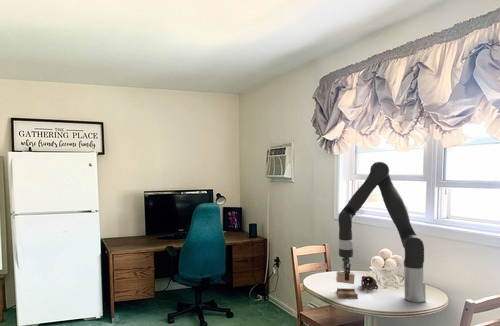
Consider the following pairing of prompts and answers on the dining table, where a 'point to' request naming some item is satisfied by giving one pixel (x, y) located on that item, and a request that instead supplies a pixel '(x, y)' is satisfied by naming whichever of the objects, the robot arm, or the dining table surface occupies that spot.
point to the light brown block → (341, 277)
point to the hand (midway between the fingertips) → (346, 279)
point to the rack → (346, 293)
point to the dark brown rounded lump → (368, 282)
